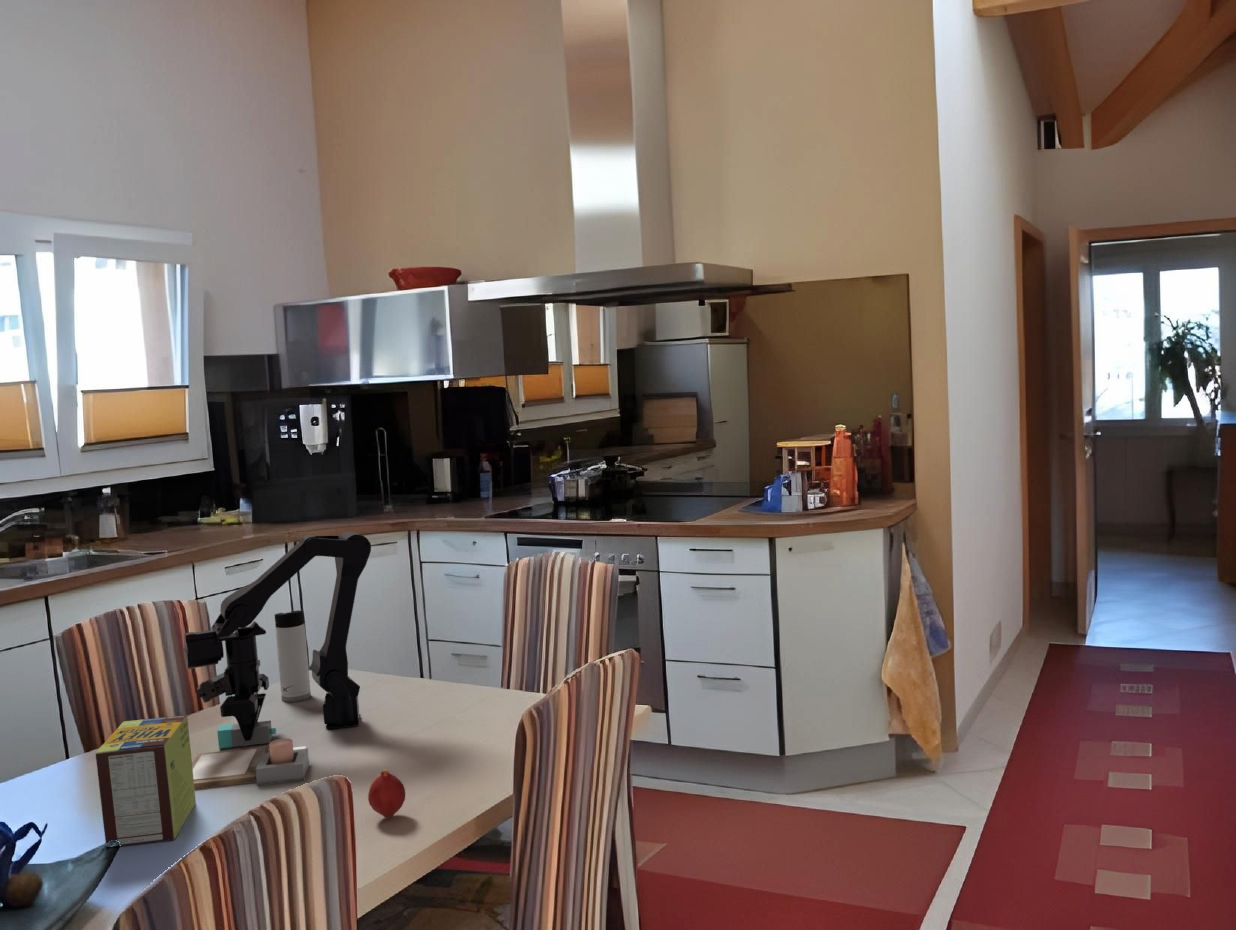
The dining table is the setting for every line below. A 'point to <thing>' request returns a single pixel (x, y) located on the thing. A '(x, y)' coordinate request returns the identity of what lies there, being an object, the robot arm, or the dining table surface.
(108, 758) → the protein box
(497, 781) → the dining table surface
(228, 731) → the block
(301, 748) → the card
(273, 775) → the button housing
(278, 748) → the button
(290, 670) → the travel mug
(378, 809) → the onion
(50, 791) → the dining table surface
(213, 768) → the clipboard
